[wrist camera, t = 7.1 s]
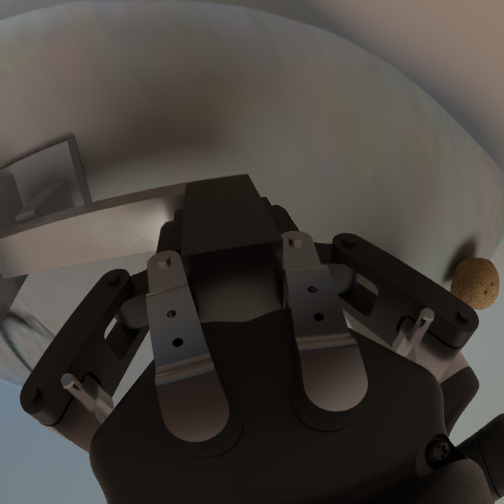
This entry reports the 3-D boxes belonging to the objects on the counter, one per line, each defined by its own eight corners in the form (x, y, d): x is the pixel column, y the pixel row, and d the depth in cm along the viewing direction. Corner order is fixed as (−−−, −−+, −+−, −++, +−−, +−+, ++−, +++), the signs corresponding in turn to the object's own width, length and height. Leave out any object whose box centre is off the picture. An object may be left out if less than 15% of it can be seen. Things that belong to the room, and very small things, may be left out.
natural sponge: (480, 245, 35) (515, 279, 27) (458, 284, 40) (488, 319, 32) (459, 241, 33) (499, 280, 25) (435, 285, 38) (468, 326, 30)
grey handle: (242, 165, 14) (283, 240, 8) (248, 229, 16) (281, 326, 10) (-8, 226, 12) (-62, 298, 6) (14, 271, 14) (-26, 348, 8)
